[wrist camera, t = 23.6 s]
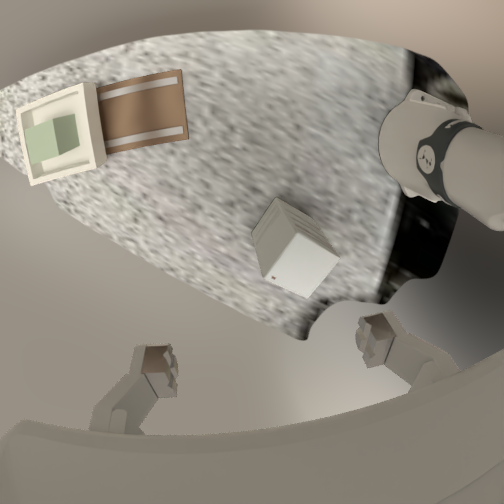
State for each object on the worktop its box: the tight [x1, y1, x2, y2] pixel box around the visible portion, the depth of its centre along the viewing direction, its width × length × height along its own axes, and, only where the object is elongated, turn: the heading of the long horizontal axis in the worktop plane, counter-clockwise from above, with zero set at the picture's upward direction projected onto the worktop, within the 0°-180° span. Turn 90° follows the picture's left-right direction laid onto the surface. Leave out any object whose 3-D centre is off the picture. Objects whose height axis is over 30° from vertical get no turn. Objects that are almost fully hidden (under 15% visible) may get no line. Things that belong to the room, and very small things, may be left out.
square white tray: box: [16, 83, 107, 186], centre depth 31 cm, size 11×11×6 cm
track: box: [96, 69, 189, 155], centre depth 34 cm, size 22×10×1 cm, turn 94°
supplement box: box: [251, 197, 341, 298], centre depth 41 cm, size 7×7×13 cm
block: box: [24, 114, 80, 165], centre depth 28 cm, size 4×4×6 cm
